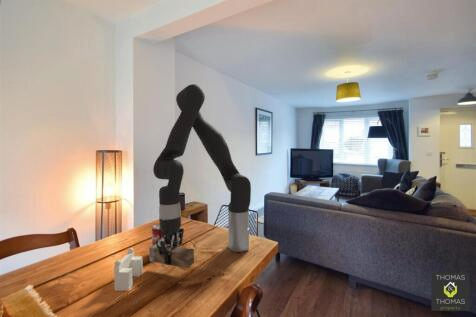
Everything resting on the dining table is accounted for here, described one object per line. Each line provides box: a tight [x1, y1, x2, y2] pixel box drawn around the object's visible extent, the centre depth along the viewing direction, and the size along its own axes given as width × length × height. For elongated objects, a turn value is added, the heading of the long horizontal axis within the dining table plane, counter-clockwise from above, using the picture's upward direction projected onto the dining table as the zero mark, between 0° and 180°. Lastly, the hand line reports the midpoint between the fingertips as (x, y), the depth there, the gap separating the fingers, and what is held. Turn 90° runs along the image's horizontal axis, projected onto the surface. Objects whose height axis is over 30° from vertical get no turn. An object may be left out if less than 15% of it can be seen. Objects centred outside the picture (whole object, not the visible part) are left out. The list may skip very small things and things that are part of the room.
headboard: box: [113, 247, 144, 292], centre depth 78 cm, size 5×10×10 cm, turn 0°
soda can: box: [151, 223, 170, 246], centre depth 98 cm, size 7×7×12 cm
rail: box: [148, 244, 195, 269], centre depth 84 cm, size 16×4×5 cm, turn 71°
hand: (171, 261), depth 84 cm, fingers closed on rail, 4 cm apart
